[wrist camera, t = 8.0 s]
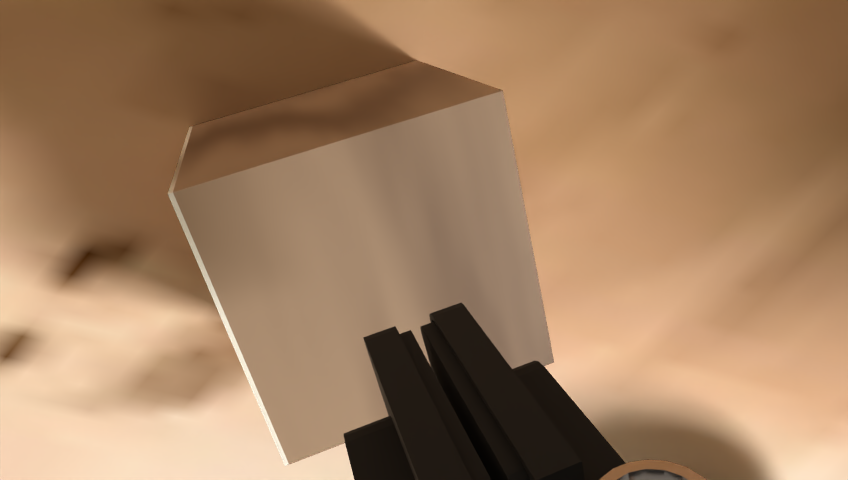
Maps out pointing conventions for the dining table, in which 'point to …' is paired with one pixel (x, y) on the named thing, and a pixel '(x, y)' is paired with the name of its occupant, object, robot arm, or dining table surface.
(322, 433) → the cube
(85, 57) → the dining table surface
